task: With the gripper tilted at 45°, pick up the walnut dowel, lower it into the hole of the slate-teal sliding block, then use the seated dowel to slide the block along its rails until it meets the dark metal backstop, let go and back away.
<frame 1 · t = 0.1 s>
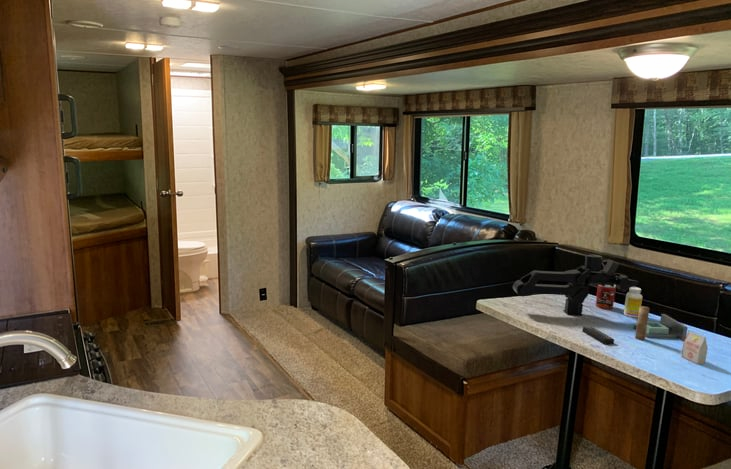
hand: (633, 279, 246), 17 cm above the table, tool horizontal, fingers open, 9 cm apart
gable top carton: (692, 360, 200), on the table
multiport hub: (597, 338, 219), on the table
rail and backstop frame: (652, 333, 227), on the table
supplement bottle: (631, 316, 249), on the table
canned food: (604, 307, 261), on the table
sliding socket block: (653, 329, 226), point 2 cm above the table, slide at 0.0 cm
walnut dowel: (639, 339, 219), on the table
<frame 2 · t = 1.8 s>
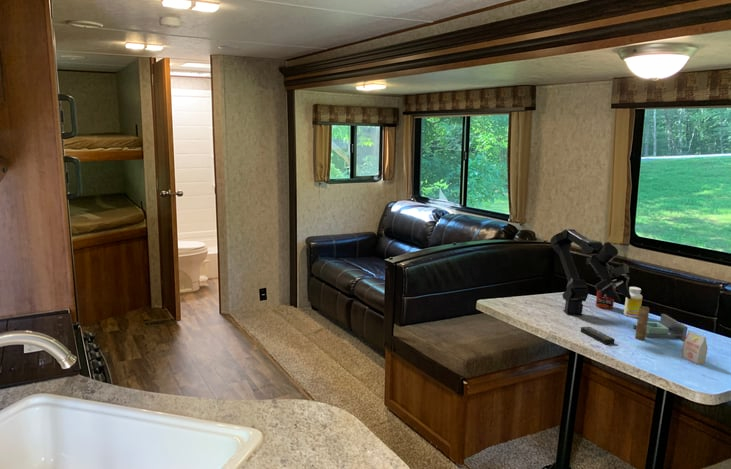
hand: (625, 300, 223), 14 cm above the table, tool tilted 45°, fingers open, 9 cm apart
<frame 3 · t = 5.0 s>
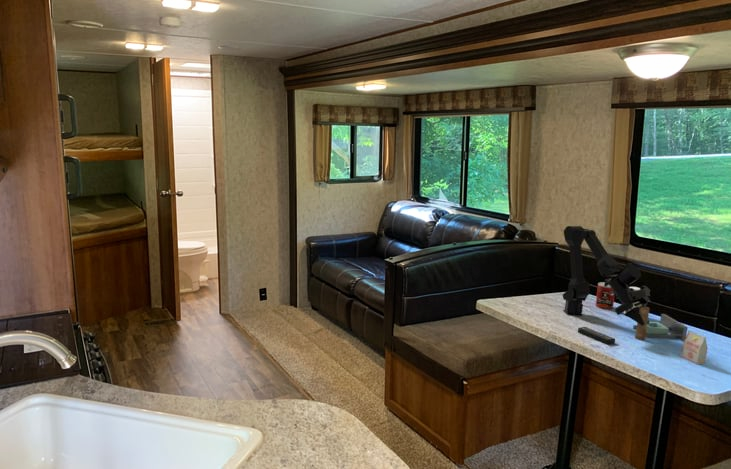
hand: (645, 324, 217), 7 cm above the table, tool tilted 45°, fingers closed on walnut dowel, 3 cm apart
walnut dowel: (639, 339, 219), on the table, touching gripper
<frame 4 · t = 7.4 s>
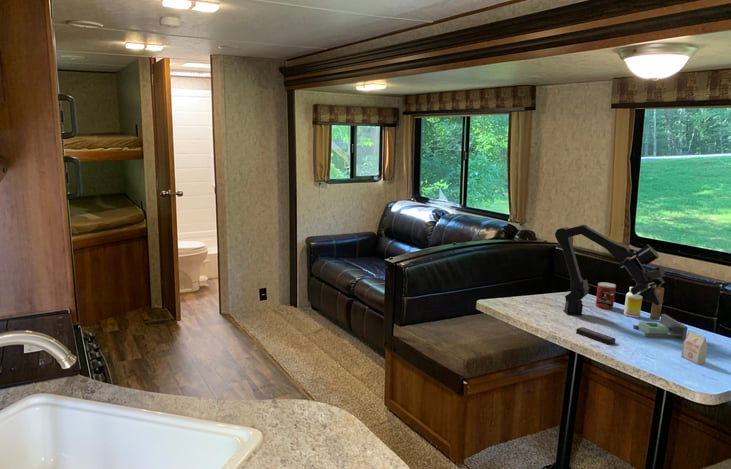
hand: (660, 303, 223), 13 cm above the table, tool tilted 45°, fingers closed on walnut dowel, 3 cm apart
walnut dowel: (654, 318, 225), point 6 cm above the table, touching gripper
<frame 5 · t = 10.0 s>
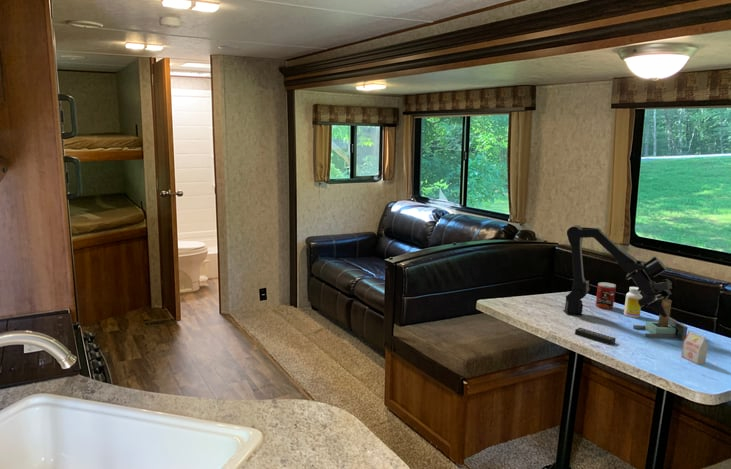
hand: (667, 315, 224), 8 cm above the table, tool tilted 45°, fingers closed on walnut dowel, 3 cm apart
sliding socket block: (660, 329, 226), point 2 cm above the table, slide at 2.9 cm, touching walnut dowel
walnut dowel: (661, 330, 226), point 1 cm above the table, touching gripper, sliding socket block
when the fingers open (8 cm above the table, at t = 10.2 s): walnut dowel stays where it is, resting on sliding socket block.
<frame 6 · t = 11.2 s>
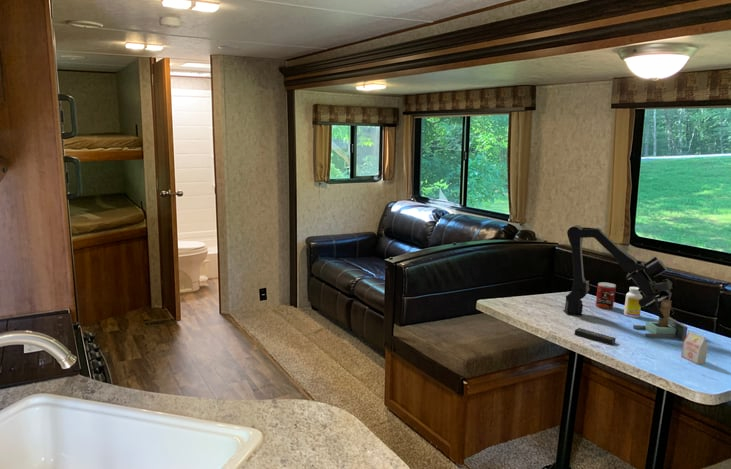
hand: (668, 316, 224), 8 cm above the table, tool tilted 45°, fingers open, 9 cm apart
walnut dowel: (661, 331, 227), point 1 cm above the table, touching sliding socket block
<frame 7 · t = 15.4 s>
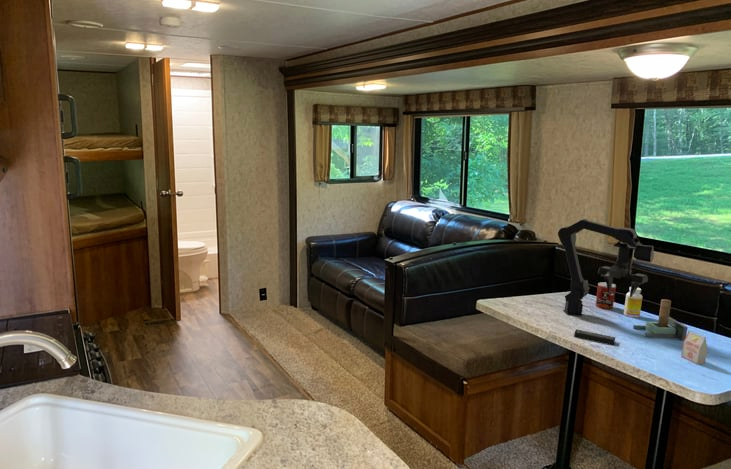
hand: (619, 294, 235), 13 cm above the table, tool pointing down, fingers open, 9 cm apart
at the end: walnut dowel 0.7 cm off-centre on the sliding socket block, point 1.0 cm above the sliding socket block's base; sliding socket block slide at 3.0 cm; walnut dowel tilted 0° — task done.
